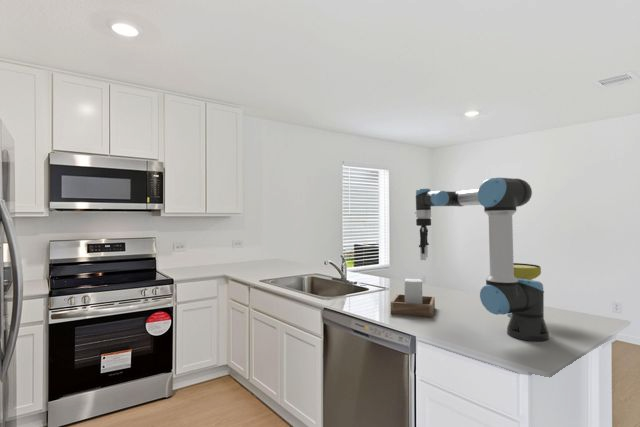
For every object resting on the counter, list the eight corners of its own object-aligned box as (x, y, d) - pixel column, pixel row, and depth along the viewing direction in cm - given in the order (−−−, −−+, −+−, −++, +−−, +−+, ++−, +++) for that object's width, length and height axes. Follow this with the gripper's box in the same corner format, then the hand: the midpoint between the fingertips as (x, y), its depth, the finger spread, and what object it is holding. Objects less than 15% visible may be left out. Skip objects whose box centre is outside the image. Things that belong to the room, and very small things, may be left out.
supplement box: (422, 311, 189) (422, 281, 189) (404, 310, 191) (404, 281, 191) (422, 306, 197) (422, 278, 197) (404, 306, 200) (404, 278, 200)
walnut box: (431, 317, 180) (431, 305, 180) (390, 314, 188) (390, 302, 188) (434, 307, 199) (434, 296, 199) (397, 304, 206) (397, 294, 206)
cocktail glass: (528, 311, 190) (528, 262, 190) (549, 322, 172) (549, 268, 172) (492, 311, 190) (492, 263, 190) (510, 322, 172) (509, 268, 172)
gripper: (418, 218, 208) (418, 256, 207) (413, 218, 184) (414, 261, 184) (432, 218, 205) (432, 256, 205) (429, 218, 182) (430, 261, 181)
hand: (424, 258), depth 194 cm, fingers open, 13 cm apart
